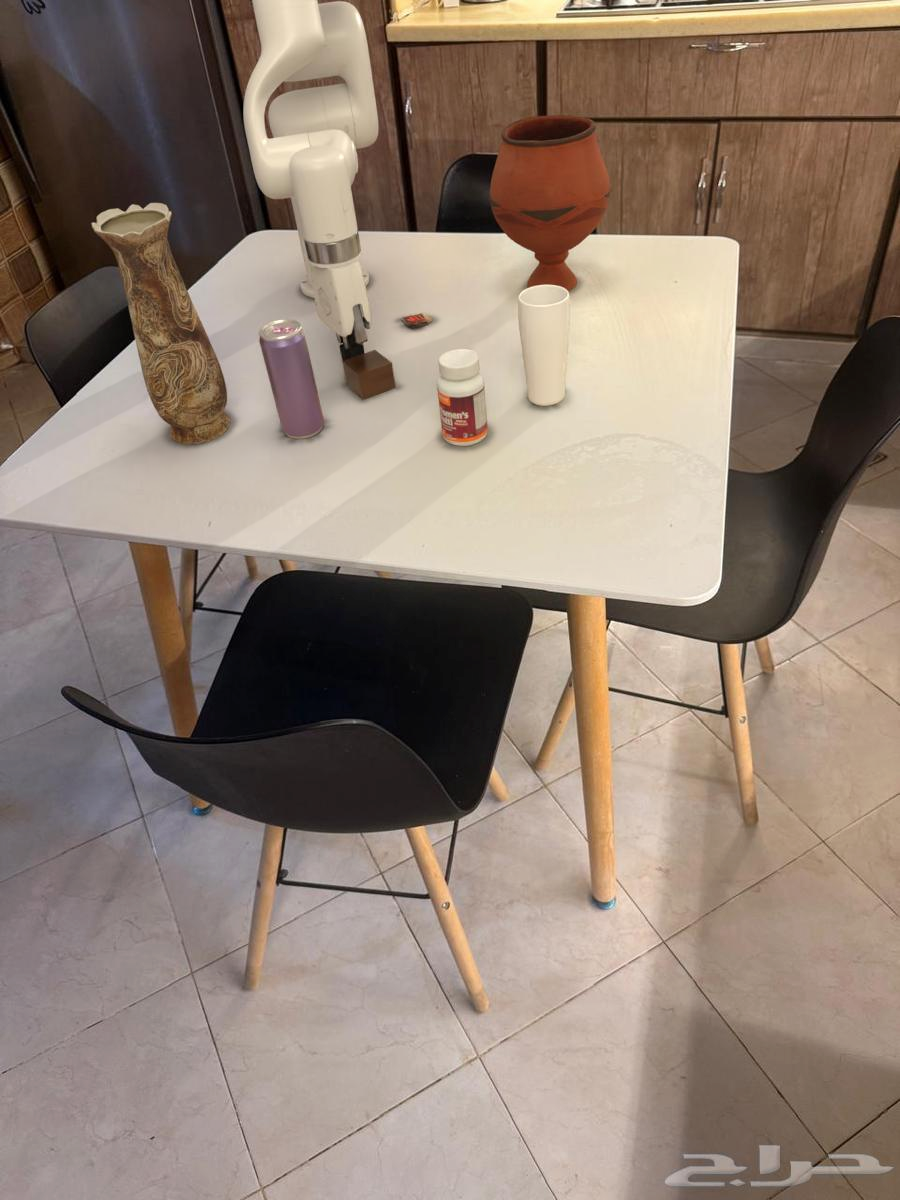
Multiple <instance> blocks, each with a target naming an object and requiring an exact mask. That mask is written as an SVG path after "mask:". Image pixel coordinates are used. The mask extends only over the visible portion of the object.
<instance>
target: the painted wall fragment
mask: <svg viewBox="0 0 900 1200" xmlns="http://www.w3.org/2000/svg"><path fill="white" fill-rule="evenodd" d="M399 320H402V321H403V322H404V323H405V324H404V326H407V327H408V328H410V329H412V328H414V329H415V328H419V327H422V326H425V325H428V324H430V322H432V321H433V317H431V316H430V315H425V314H424V312H418V313H414V314H408V315H405V316H402V317H401V318H400V319H399Z"/></svg>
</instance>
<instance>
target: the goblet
mask: <svg viewBox="0 0 900 1200" xmlns="http://www.w3.org/2000/svg"><path fill="white" fill-rule="evenodd" d="M596 129H597V124H596V123H595V121H594V120H593V119H590V118H588V117H584V116H578V115H572V114H569V115H565V114H551V115H550V114H549V115H536V116H535V115H534V116H527V117H524V118H521V119H518V120H516V121H512V123H510V124H509V125H507V126H506V127H504V129H503V130H502V132H501V139H502V141H501V144H500V147H499V151H498V154H497V157H496V160H495V164H494V168H493V171H492V175H491V179H490V188H489V201H490V207H491V211H492V214H493V216H494V219H495V221H496V222H497V224H498V225H499V227H500V228H501V230H502V231H503V232H504V234H505V235H506V236H507V238H509V239H510V240H511V241H513V243H515V244H517V245H519V246H520V247H522V248H524V249H526V250H528V251H530V252H532V253H534V259H535V260H536V261H537V262H538V264H537V266H536V268H535V269H534V270H533V271H532V273H531V274H530V276H529V277H528V280H527V283H526V289H527V288H530V287H533V286H537V285H557V286H560V287H563V288H565V289H566V290H567V291H568V292H570V291H572V290H573V289H574V288H575V287H576V286H577V285H578V283H579V281H578V279H577V277H576V275H575V273H574V271H572V269H571V268H570V267H569V266H568V265H567V263H566V260H567V258H568V257H569V255H570V253H569V251H570V250H573V249H574V248H576V247H577V246H579V245H581V243H582V242H583V241H585V240H586V239H587V238H588V237H589V236H590V235H591V234H592V233H593V232H594V230H596V228H597V227H598V225H599V224H600V223H601V221H602V220H603V218H604V215H605V213H606V211H607V210H608V209H607V208H608V206H609V201H610V195H611V194H610V193H611V192H610V191H611V184H610V182H611V181H610V177H609V172H608V169H607V166H606V163H605V161H604V158H603V155H602V152H601V149H600V146H599V142H598V138H597V134H596Z"/></svg>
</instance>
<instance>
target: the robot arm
mask: <svg viewBox="0 0 900 1200" xmlns="http://www.w3.org/2000/svg"><path fill="white" fill-rule="evenodd" d="M251 3H252V8H253V13H254V18H255V23H256V27H257V32H258V37H259V41H260V42H259V43H260V48H261V52H260V57H259V58H258V61H257V63H256V65H255V67H254V68H253V70H252V73H251V74H250V77H249V79H248V82H247V85H246V89H245V92H244V93H245V94H244V99H243V113H242V115H243V117H242V118H243V125H244V132H245V136H246V141H247V146H248V150H249V156H250V161H251V165H252V169H253V174H254V178H255V180H256V183H257V185H258V188H259V190H260V191H261V192H262V194H263V195H265V196H266V197H267V198H269V199H272V200H284V199H290V201H291V205H292V211H293V216H294V220H295V225H296V229H297V235H298V239H299V244H300V249H301V253H302V258H303V263H304V268H305V273H306V276H304V277H303V278H301V281H300V284H299V285H300V291H301V293H302V294H303V295H305V296H307V297H308V298H311V299H314V303H315V309H316V315H317V316H318V318H319V320H321V322H322V323H324V324H325V325H326V326H327V327H329V328H330V329H331V330H332V331H333V332H334V333H335V335H336V336H335V337H336V340H337V342H338V344H339V345H338V346H339V352H340V356H341V362H342V361H344V360H347V359H350V358H353V357H355V356H358V355H361V354H364V353H366V352H365V348H364V344H365V343H367V342H368V340H369V339H368V336H367V332H366V331H367V330H370V329H371V328H372V323H373V322H372V321H373V320H372V312H371V306H370V301H369V295H368V291H367V286H368V285H369V282H370V276H369V272H368V271H367V270H366V269H365V268H362V266H361V263H360V260H359V259H360V258H361V257H362V255H363V252H362V248H361V241H360V235H359V230H358V223H357V217H356V210H355V204H354V198H353V192H352V185H353V183H354V180H355V178H356V174H358V172H359V158H358V152H357V150H359V149H364V148H368V147H370V146H372V145H373V144H374V143H375V142H376V141H377V139H378V136H379V116H378V108H377V101H376V95H375V87H374V79H373V73H372V67H371V59H370V53H369V51H370V50H369V45H368V40H367V34H366V29H365V26H364V22H363V18H362V17H361V14H360V12H359V11H358V9H357V7H356V6H354V5H353V4H352V3H350V2H347V1H341V0H338V1H337V0H336V1H329V2H328V1H327V2H323V3H319V1H318V0H251ZM330 77H331V78H332V77H341V78H342V79H343V80H344V82H343V83H338V84H330V85H323V86H316V87H315V86H314V87H309V88H301V89H295V90H291V91H287V92H285V93H282V94H280V95H278V96H277V97H275V98H274V99H273V100H272V102H270V105H269V107H268V118H267V119H268V124H269V128H270V131H271V135H272V138H268V135H267V130H266V123H265V112H266V107H267V103H268V101H269V100H270V98H271V96H272V94H273V93H274V92H275V91H276V89H277V88H279V86H280V85H282V84H283V82H285V83H289V82H290V83H293V82H294V83H295V82H303V81H311V80H317V79H323V78H330ZM366 329H367V330H366Z"/></svg>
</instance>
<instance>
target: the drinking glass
mask: <svg viewBox="0 0 900 1200" xmlns="http://www.w3.org/2000/svg"><path fill="white" fill-rule="evenodd" d="M517 316H518V317H517V318H518V329H519V336H520V337H519V338H520V344H521V345H520V347H521V354H522V360H523V361H522V362H523V367H524V376H525V383H526V396H527V397H526V398H527V399H528V401H529V402H530V403H532V404H534V405H537V406H540V407H549V406H553V405H557V404H559V403H561V402H562V401H563V400H564V398H565V396H566V377H567V365H568V355H569V354H568V352H569V343H570V342H569V341H570V330H571V329H570V328H571V301H570V291H567V290H566V289H565V288H563V287H560V286H557V285H537V286H533V287H530V288H527V287H526V288H525V289H523V290H522V291H521V292H519V294H518V296H517Z"/></svg>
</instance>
